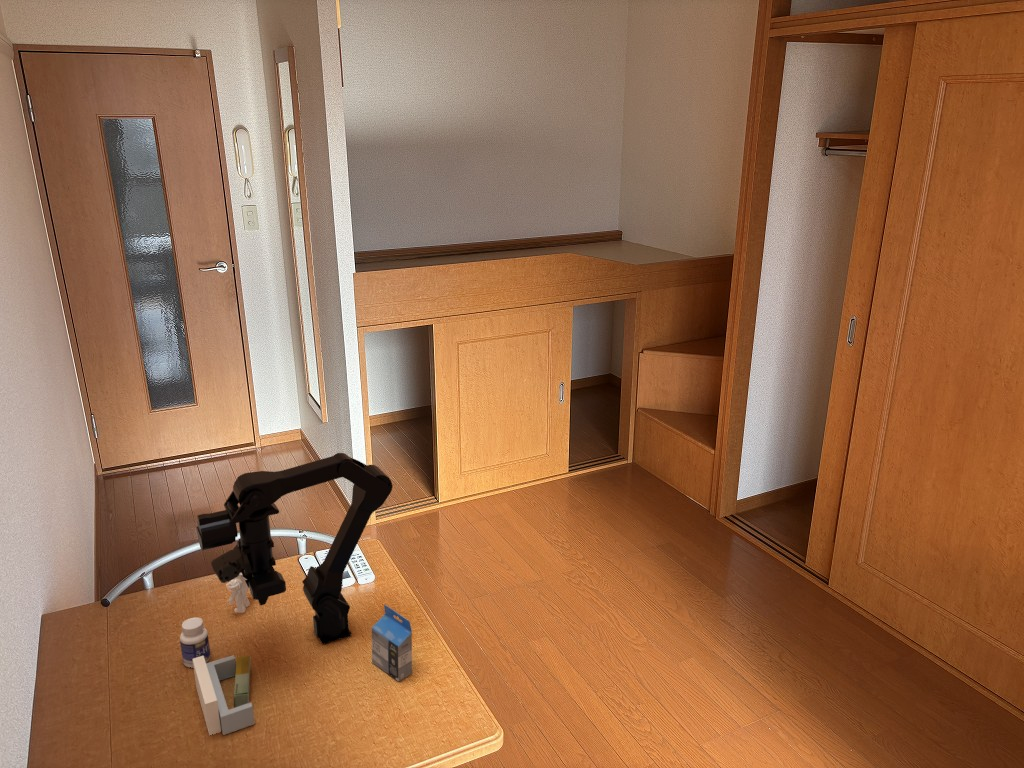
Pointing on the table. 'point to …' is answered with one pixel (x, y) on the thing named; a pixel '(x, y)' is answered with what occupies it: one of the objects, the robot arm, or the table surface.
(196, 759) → the table surface
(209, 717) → the wall
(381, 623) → the label tape box
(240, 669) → the medication box
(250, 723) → the cradle
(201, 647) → the pill bottle
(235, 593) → the flower shoulder figurine
